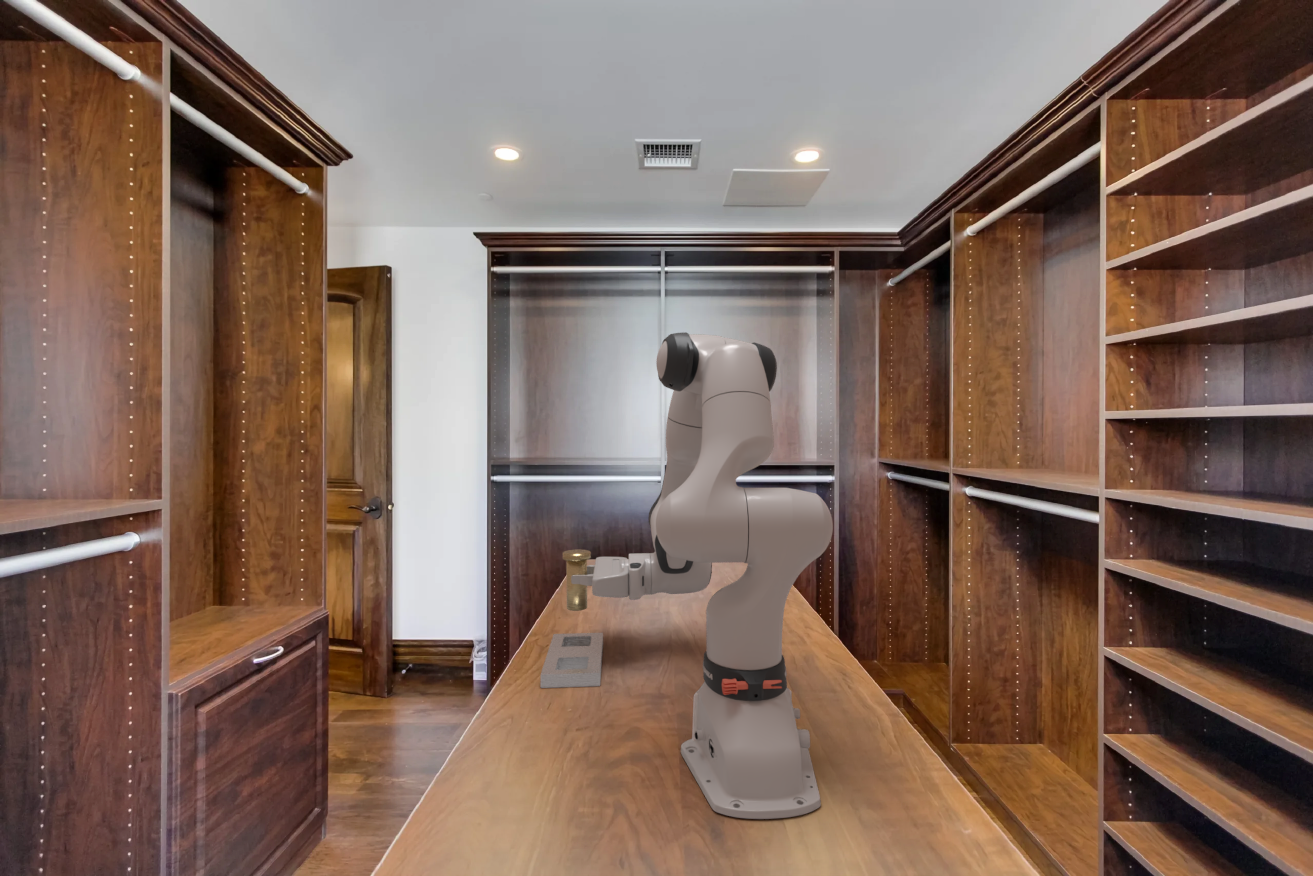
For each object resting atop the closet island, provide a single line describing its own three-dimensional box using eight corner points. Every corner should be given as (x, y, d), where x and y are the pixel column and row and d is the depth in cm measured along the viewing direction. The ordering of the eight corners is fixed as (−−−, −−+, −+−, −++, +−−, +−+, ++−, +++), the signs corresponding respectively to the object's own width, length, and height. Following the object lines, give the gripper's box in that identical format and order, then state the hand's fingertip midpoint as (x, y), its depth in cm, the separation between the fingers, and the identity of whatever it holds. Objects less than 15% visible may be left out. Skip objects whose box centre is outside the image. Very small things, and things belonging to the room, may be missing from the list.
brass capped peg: (590, 611, 122) (589, 555, 122) (561, 612, 122) (561, 555, 122) (591, 603, 128) (591, 549, 128) (564, 603, 128) (563, 549, 128)
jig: (600, 686, 108) (599, 672, 108) (540, 688, 107) (540, 674, 107) (603, 643, 130) (603, 632, 130) (553, 645, 129) (553, 634, 129)
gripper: (635, 549, 136) (575, 550, 135) (638, 571, 116) (568, 572, 115) (635, 576, 136) (576, 577, 135) (638, 602, 116) (568, 604, 115)
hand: (572, 575), depth 125 cm, fingers closed on brass capped peg, 4 cm apart
